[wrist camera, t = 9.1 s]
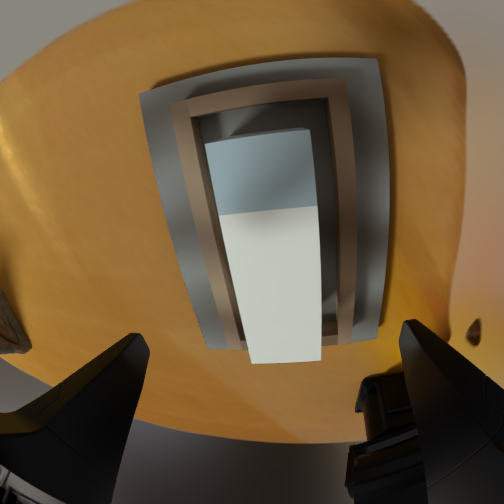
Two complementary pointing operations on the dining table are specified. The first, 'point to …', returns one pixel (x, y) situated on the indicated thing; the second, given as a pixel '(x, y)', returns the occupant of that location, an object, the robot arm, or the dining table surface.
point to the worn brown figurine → (11, 331)
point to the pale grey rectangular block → (271, 239)
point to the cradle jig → (326, 178)
